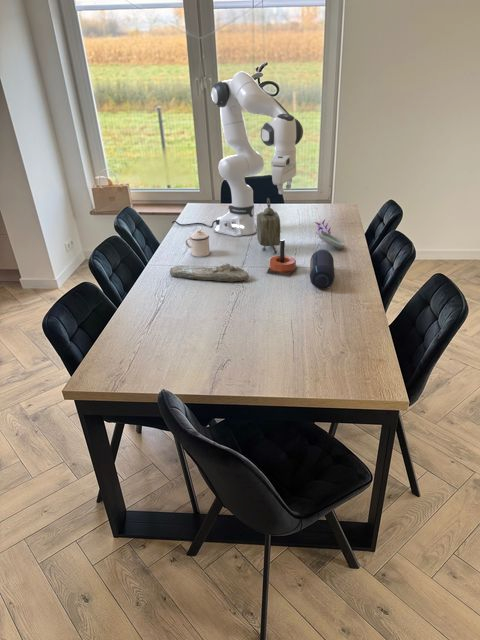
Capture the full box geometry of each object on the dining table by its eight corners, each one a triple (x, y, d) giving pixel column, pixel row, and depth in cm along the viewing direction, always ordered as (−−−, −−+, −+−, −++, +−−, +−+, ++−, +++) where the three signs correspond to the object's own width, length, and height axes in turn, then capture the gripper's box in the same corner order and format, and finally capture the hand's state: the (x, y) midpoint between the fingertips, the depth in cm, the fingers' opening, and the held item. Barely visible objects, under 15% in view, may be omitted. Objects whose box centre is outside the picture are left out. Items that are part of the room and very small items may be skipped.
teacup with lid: (213, 251, 236) (211, 227, 230) (206, 258, 229) (204, 234, 223) (190, 249, 239) (188, 225, 233) (182, 255, 232) (180, 231, 226)
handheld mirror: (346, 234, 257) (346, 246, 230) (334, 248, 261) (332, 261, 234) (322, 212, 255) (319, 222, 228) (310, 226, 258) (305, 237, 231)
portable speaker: (310, 267, 218) (310, 246, 213) (332, 268, 217) (333, 246, 212) (309, 291, 197) (310, 268, 192) (334, 292, 196) (335, 269, 191)
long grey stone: (175, 272, 218) (167, 282, 210) (173, 261, 215) (165, 271, 207) (251, 273, 211) (246, 284, 203) (250, 262, 208) (245, 272, 200)
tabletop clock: (280, 255, 231) (280, 202, 218) (261, 256, 230) (260, 203, 217) (274, 244, 244) (274, 193, 230) (256, 245, 242) (255, 194, 229)
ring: (266, 269, 213) (266, 262, 211) (275, 260, 222) (275, 253, 220) (290, 273, 209) (290, 266, 207) (298, 264, 218) (299, 257, 216)
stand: (267, 273, 213) (267, 242, 206) (275, 265, 221) (275, 235, 214) (288, 276, 210) (289, 245, 203) (296, 268, 218) (297, 237, 210)
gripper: (286, 152, 212) (286, 185, 220) (269, 161, 196) (269, 196, 204) (300, 153, 210) (299, 186, 218) (284, 162, 194) (283, 197, 202)
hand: (284, 191), depth 210 cm, fingers open, 8 cm apart
